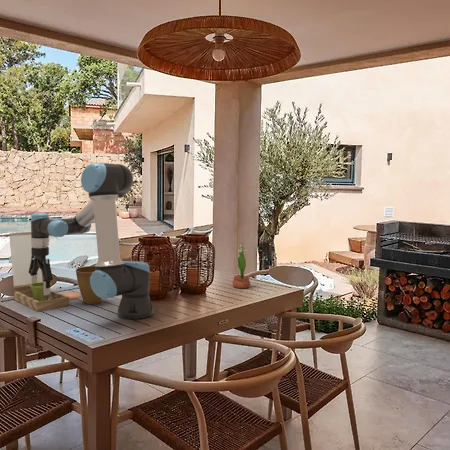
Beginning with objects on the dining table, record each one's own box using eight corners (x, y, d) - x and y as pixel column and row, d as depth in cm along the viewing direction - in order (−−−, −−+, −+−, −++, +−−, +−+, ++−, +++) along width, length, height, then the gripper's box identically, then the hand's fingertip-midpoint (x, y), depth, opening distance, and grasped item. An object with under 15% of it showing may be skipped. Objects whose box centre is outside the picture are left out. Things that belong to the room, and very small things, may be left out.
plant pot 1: (55, 300, 214) (55, 282, 214) (45, 305, 205) (45, 287, 204) (36, 299, 215) (36, 281, 214) (26, 304, 206) (25, 286, 205)
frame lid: (38, 231, 224) (37, 231, 225) (9, 233, 214) (8, 233, 215) (42, 282, 224) (41, 282, 224) (14, 286, 214) (13, 286, 214)
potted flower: (230, 284, 258) (231, 240, 255) (248, 284, 259) (249, 241, 256) (233, 289, 246) (234, 243, 243) (251, 289, 247) (252, 243, 244)
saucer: (86, 297, 222) (86, 295, 222) (60, 301, 212) (60, 300, 212) (73, 292, 231) (73, 290, 231) (48, 296, 221) (48, 294, 221)
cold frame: (69, 305, 206) (69, 292, 206) (38, 311, 196) (37, 298, 195) (43, 294, 224) (43, 282, 224) (13, 299, 214) (13, 287, 214)
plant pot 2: (69, 303, 210) (68, 269, 208) (92, 296, 223) (92, 264, 221) (93, 308, 203) (92, 273, 201) (115, 301, 216) (115, 268, 214)
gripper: (60, 249, 202) (60, 296, 204) (36, 242, 219) (36, 285, 221) (44, 251, 196) (44, 298, 199) (20, 243, 214) (21, 287, 216)
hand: (40, 291), depth 210 cm, fingers open, 13 cm apart
